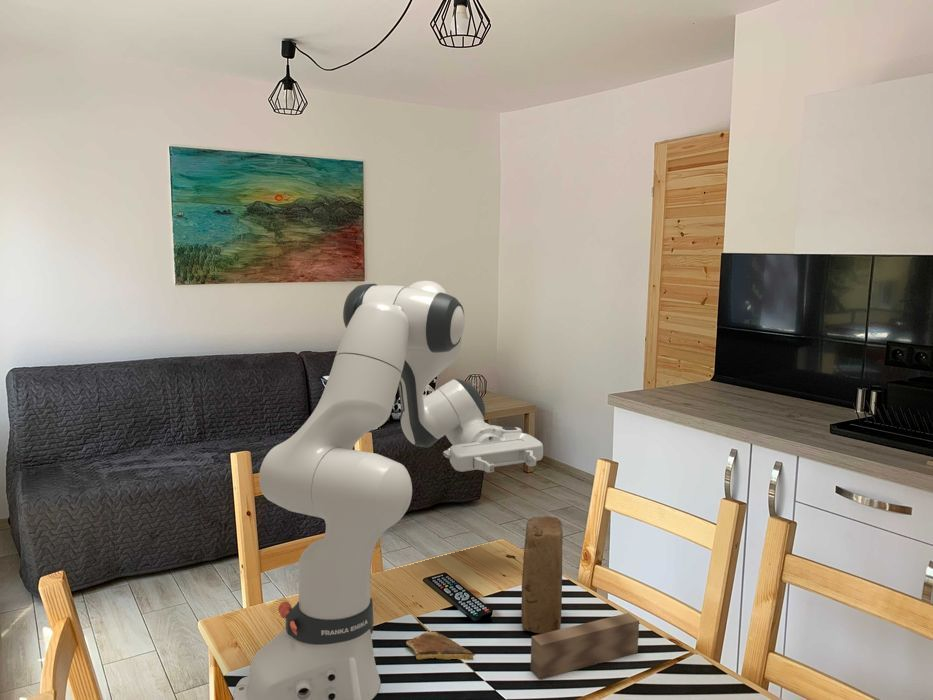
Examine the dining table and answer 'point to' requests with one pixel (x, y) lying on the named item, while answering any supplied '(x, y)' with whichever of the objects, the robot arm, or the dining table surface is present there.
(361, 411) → the robot arm
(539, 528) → the weathered terracotta carving
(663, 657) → the dining table surface
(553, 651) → the board
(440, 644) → the brown flat angular piece
